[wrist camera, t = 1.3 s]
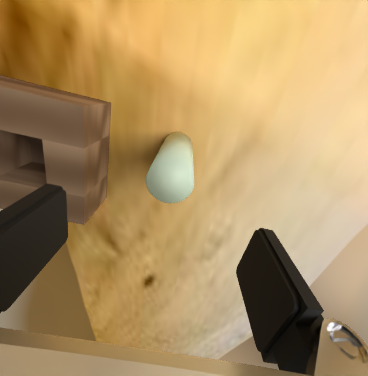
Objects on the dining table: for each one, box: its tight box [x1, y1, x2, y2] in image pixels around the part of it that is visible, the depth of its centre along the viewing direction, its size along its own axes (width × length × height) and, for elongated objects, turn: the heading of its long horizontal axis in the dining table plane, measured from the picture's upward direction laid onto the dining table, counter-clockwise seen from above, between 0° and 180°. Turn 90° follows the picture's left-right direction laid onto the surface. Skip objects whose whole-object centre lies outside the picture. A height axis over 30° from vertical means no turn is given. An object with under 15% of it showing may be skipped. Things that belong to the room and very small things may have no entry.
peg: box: [146, 132, 194, 203], centre depth 18 cm, size 3×3×10 cm
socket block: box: [0, 75, 111, 225], centre depth 20 cm, size 12×12×6 cm
